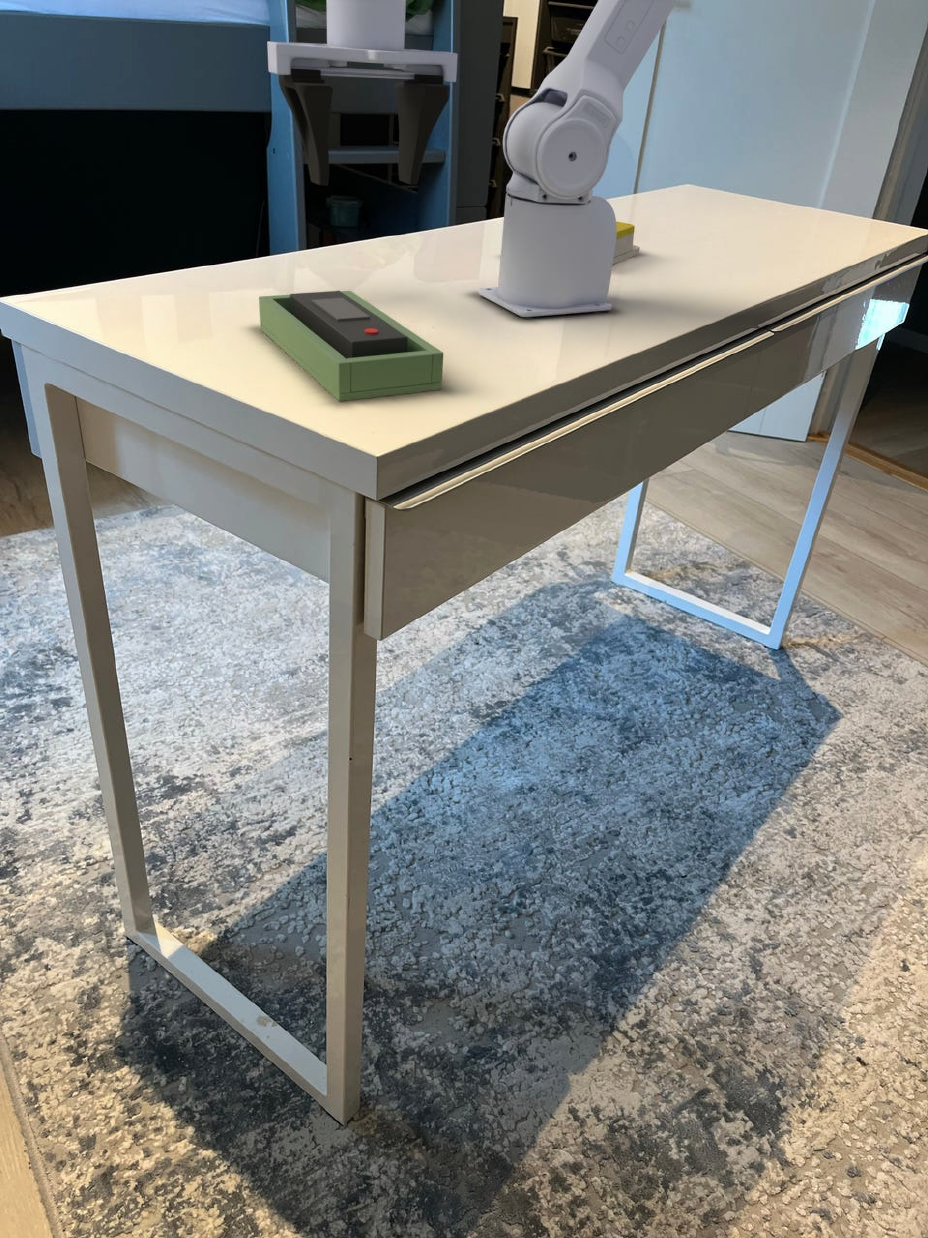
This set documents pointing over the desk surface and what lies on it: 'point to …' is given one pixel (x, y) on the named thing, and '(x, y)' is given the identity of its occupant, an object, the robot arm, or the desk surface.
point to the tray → (352, 374)
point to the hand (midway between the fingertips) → (364, 182)
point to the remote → (346, 324)
